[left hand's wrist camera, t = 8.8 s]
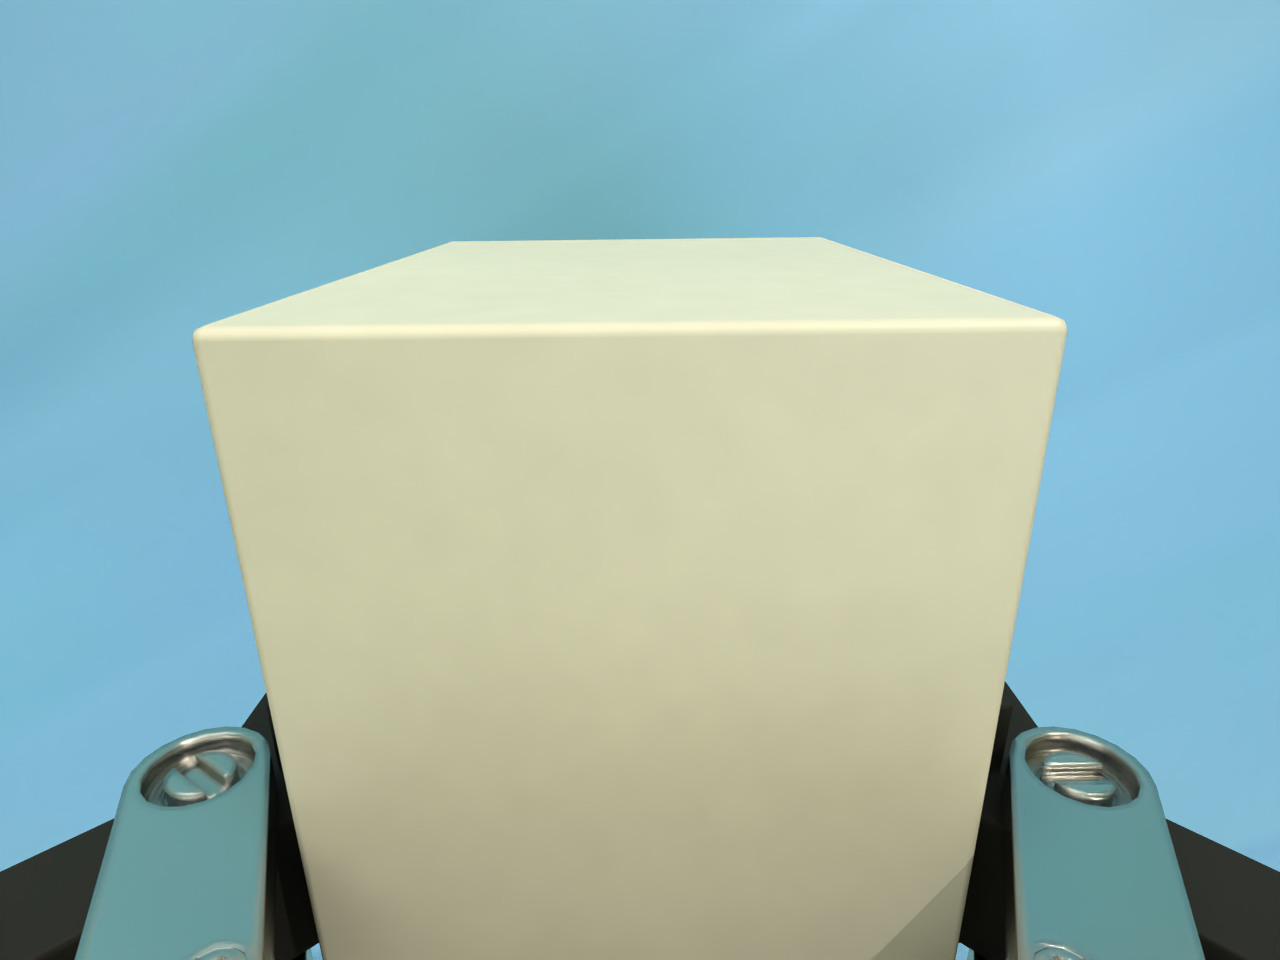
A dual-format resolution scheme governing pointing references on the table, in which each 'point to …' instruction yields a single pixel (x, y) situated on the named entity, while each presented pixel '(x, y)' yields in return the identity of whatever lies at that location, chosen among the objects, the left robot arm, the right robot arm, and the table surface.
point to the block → (634, 591)
